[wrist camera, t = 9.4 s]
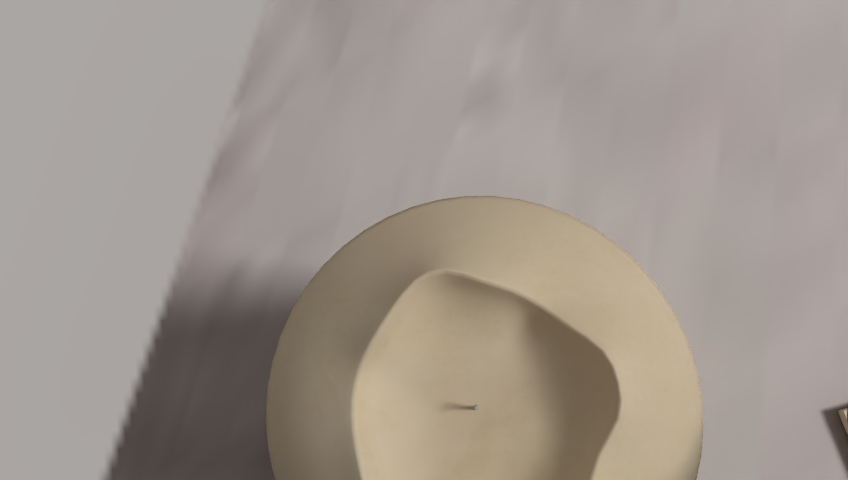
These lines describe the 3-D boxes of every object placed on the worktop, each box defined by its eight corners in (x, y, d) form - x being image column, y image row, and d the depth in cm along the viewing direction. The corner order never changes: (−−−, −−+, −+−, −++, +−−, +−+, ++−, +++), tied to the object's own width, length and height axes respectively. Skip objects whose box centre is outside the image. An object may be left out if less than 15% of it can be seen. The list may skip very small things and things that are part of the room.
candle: (360, 307, 18) (195, 214, 8) (577, 265, 18) (666, 116, 8) (397, 537, 17) (255, 735, 7) (631, 496, 17) (810, 648, 7)
